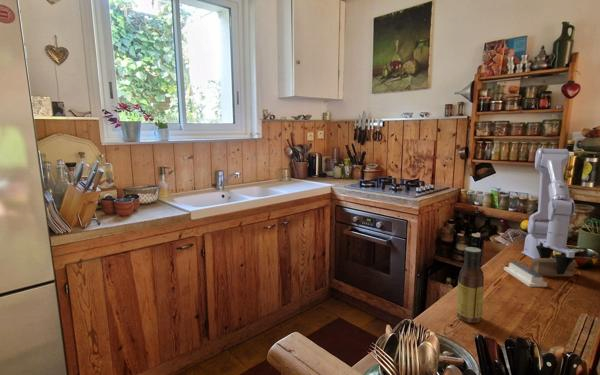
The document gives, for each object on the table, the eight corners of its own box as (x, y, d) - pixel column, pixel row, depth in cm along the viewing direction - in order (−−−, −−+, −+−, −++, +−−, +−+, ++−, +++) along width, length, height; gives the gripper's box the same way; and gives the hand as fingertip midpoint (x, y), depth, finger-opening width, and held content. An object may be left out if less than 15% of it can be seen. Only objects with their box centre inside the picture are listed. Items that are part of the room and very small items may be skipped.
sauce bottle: (475, 312, 97) (482, 245, 93) (485, 325, 90) (493, 253, 87) (451, 311, 97) (457, 244, 94) (459, 323, 91) (466, 252, 88)
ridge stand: (503, 269, 127) (504, 260, 126) (519, 269, 127) (520, 260, 126) (529, 286, 113) (530, 276, 112) (547, 286, 113) (548, 276, 113)
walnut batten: (530, 272, 125) (532, 258, 124) (565, 272, 125) (567, 258, 124) (537, 276, 121) (539, 262, 120) (573, 276, 122) (575, 262, 121)
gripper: (532, 227, 128) (527, 261, 130) (562, 239, 113) (556, 278, 116) (550, 227, 128) (546, 261, 130) (583, 239, 113) (577, 278, 116)
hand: (552, 269), depth 123 cm, fingers open, 7 cm apart
